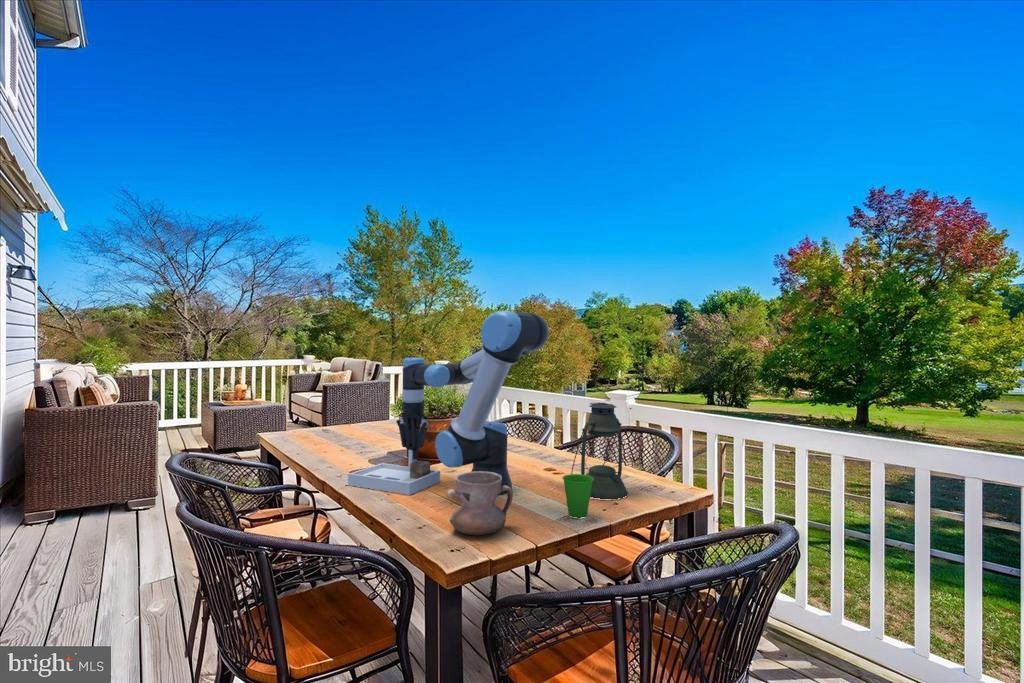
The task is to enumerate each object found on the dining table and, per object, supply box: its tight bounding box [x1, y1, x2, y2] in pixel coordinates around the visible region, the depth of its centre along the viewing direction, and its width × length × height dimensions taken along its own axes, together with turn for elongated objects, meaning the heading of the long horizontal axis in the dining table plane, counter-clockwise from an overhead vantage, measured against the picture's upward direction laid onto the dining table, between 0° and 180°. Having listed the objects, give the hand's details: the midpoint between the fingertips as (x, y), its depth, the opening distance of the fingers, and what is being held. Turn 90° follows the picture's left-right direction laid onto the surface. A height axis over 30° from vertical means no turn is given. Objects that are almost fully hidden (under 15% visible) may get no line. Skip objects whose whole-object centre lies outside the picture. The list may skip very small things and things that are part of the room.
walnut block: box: [410, 460, 431, 479], centre depth 176 cm, size 5×5×5 cm
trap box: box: [347, 462, 441, 496], centre depth 176 cm, size 26×18×4 cm
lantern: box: [570, 402, 629, 499], centre depth 168 cm, size 21×18×30 cm
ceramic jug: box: [446, 471, 514, 536], centre depth 133 cm, size 18×14×14 cm
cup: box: [562, 473, 594, 518], centre depth 145 cm, size 9×9×11 cm
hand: (412, 467), depth 177 cm, fingers closed
